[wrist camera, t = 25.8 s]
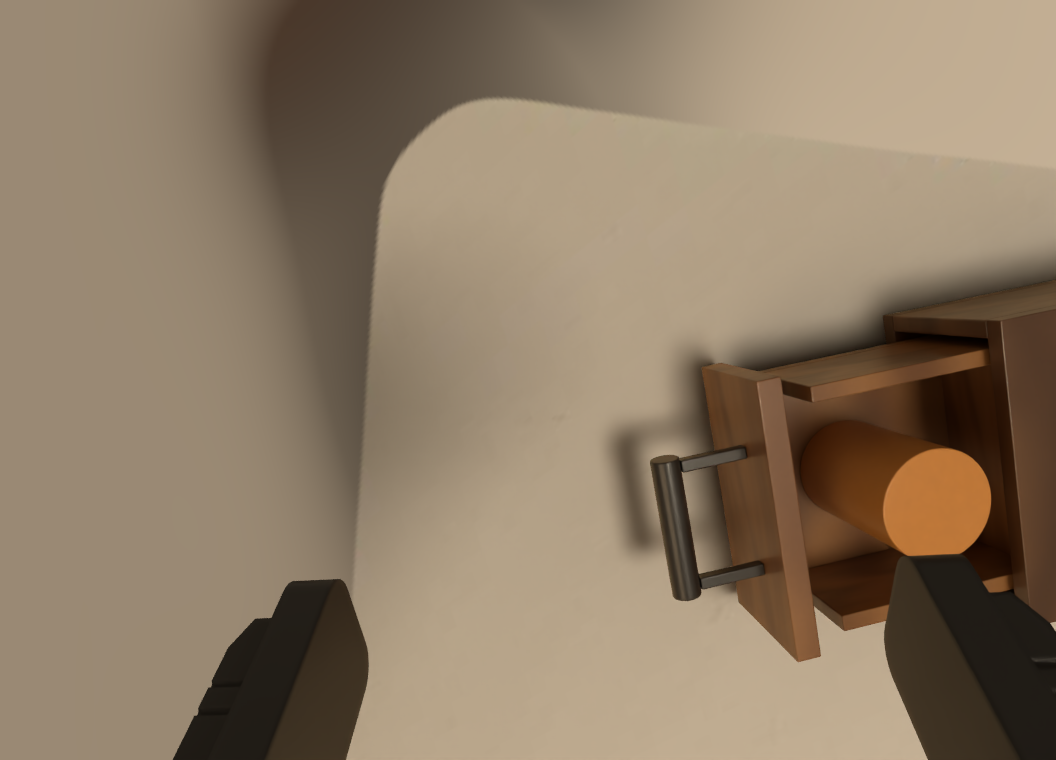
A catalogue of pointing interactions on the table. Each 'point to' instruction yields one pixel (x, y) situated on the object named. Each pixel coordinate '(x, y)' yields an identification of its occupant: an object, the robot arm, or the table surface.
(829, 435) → the orange cylinder
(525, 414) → the table surface
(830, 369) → the drawer
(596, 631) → the table surface
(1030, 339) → the cabinet
